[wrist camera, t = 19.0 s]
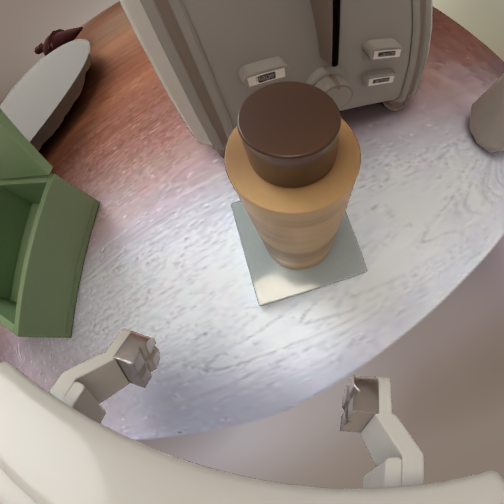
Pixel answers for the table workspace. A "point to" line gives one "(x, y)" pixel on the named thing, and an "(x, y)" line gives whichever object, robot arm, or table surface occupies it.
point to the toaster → (280, 52)
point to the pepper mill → (293, 169)
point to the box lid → (18, 153)
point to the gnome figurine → (57, 40)
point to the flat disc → (48, 91)
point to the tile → (290, 280)
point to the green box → (42, 253)
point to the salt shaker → (489, 118)
